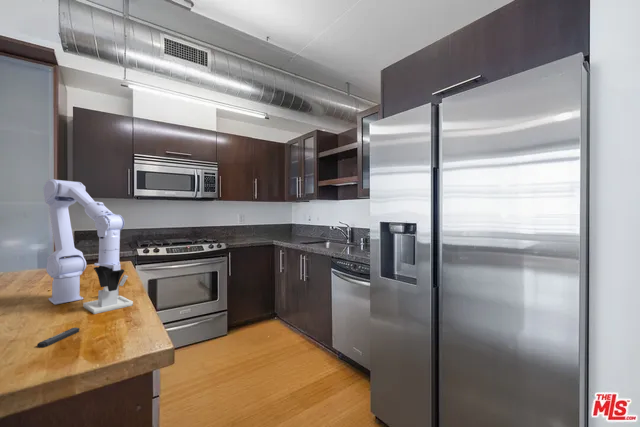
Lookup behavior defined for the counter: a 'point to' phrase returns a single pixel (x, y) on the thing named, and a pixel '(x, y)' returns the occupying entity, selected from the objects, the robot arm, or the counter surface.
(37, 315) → the counter surface
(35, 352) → the counter surface
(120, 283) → the lighter
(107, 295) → the plug
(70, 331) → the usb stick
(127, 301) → the dish
